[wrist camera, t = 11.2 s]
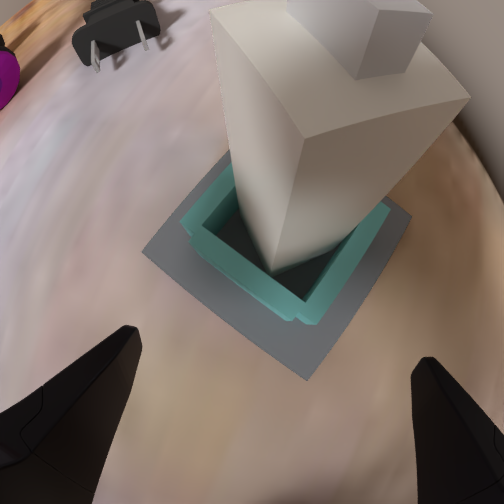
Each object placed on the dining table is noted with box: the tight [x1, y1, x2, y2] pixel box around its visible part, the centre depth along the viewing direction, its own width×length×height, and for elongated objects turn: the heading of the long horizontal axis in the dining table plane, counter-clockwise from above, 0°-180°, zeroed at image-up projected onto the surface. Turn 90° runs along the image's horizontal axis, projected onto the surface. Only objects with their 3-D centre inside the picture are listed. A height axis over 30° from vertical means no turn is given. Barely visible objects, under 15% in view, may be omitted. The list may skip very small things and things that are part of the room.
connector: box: [209, 0, 471, 278], centre depth 10 cm, size 4×4×14 cm
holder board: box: [142, 149, 412, 381], centre depth 16 cm, size 12×12×4 cm
